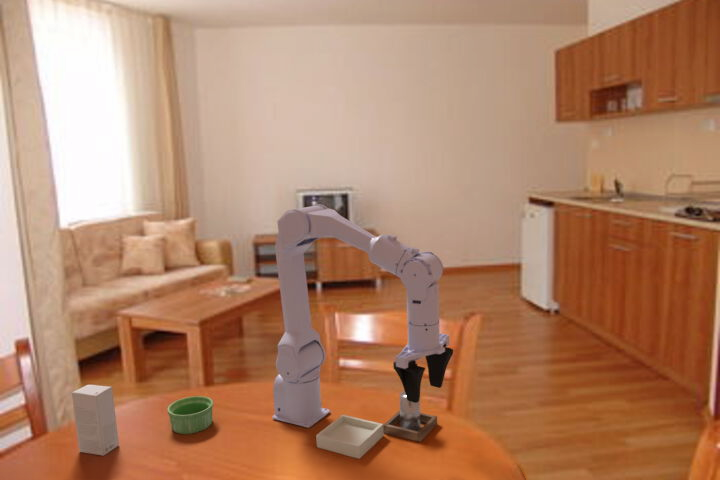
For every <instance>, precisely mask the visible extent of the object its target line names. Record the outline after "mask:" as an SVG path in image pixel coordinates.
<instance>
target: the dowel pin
mask: <svg viewBox="0 0 720 480" xmlns="http://www.w3.org/2000/svg"><path fill="white" fill-rule="evenodd" d="M399 410H400V421H399V423H400V426H399V427H401V428H405V429H410V430H414V431H418V432H419V431H420V430H421V429H422V422H421V413H422V412H421V397H420V398H419V402H417V403H415V402H411V401H408V400H407V397H406V394H405V390H404V391H401V392H400V393H399Z"/></svg>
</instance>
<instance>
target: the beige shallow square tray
mask: <svg viewBox="0 0 720 480" xmlns="http://www.w3.org/2000/svg"><path fill="white" fill-rule="evenodd" d="M383 425H384V423H380V422H376V421H371V420H366V419H363V418H360V417H355V416H351V415H345V414H341V415H340V416H338V418H336V419H335V420H333V421H332V422H331V423H329V425H327V426H326V427H325V428H324V429H322V430H320V432H318V433H317V434H315V437H316V440H315V441H316V448H318V449H322V450H324V451H325V450H326V451H330V452H334V453H336V454H340V455H344V456H348V457H351V458H354V459H358V460H359V459H361V458H362V457H363V456H364V455H365V454H366V453H367V452H368V451H370V449H372V448H373V447H374V446H375V445H376V444H377V443H378V442H379V441H380V440H381V439H382V438H383V437H384V436H385V435H384V434H385V433H384V431H383Z"/></svg>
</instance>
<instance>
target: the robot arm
mask: <svg viewBox="0 0 720 480" xmlns="http://www.w3.org/2000/svg"><path fill="white" fill-rule="evenodd" d="M277 228H278V229H277V230H278V233H277V237H276V241H275V245H274V248H275V250H274V252H275V259H276V266H277V275H278V276H277V277H278V284H279V291H280V292H279V293H280V301H281V310H282V317H283V325H284V326H283V327H284V333H283V335H282V337H281V339H280V341H279V342H278V344H277V357H276V360H275V367H276V371H277V375H276V377H275V379H274V382H273V387H272V394H273V395H272V396H273V407H274V415H272V416H271V417H272V419H273V420H275V421H276V420H277V421H280V422H283V423H287V424H293V425H294V426H295V425H296V426H299V427H304V428H308V429H309V428H311V427H312V426H314V425H315V424H316V423H318V422H319V421H320V420H322V419H323V418H324V417H325V416H327V415H328V414H329V413H331V410H330V409H329V408H324V407H322V396H321V379H320V378H321V376H320V372H321V366H322V365H323V364H324V362H325V360H326V351H325V348H324V346H323V343H322V341H321V336H320V334H319V332H317V330H315V329H314V328H313V325H312V316H311V309H310V300H309V299H310V298H309V291H308V281H307V272H306V264H305V252H306V251H307V249H309V247H310V246H311V245H313V243H314V242H315V241H317V240H319V239H320V238H324V237H325V238H327V237H332V238H334V239H337V240H339V241H341V242H343V243H345V244H348V245H350V246H352V247H354V248H356V249H358V250H360V251H363V252H364V253H367V256H368V259H369V261H370V262H371V263H372V264H374V265H375V266H378V267H380V268H381V269H382V270H385V271H386V272H389V273H391V274H393V275H394V276H396V277H398V278H399V279H400V281H401V283H402V284H403V286H404V287H405V290H406V323H407V325H406V327H407V343H406V345H405V346H404V347H403V349H402V350H401V352H399V354H397V355H395V361H394V362H393V370H395V372H396V373H397V375H398V377H399V379H400V382H401V384H402V387H403V390H404V391H405V394H406V397H407V400H408V401H411V402H415V403H417V402H419V398H420V399H421V386H422V385H421V384H422V379H423V375H424V373H425V371H426V367H424V366H421V365H418V363H417V362H416V361H417V360H420V359H421V358H425V360H426V364H427V372H428V373H427V374H428V380H429V385H430V386H431V387H435V388H437V389H441V388H442V387H443V383H444V378H445V374H446V370H447V367H448V364H449V362H450V360H451V358H452V356H453V355H454V350H453V348H451V347H448V346H449V345H450V335H449V334H445V333H441V332H440V331H441V330H440V293H439V290H440V288H439V287H440V286H439V283H440V282H438V281H439V280H440V279H441V278H442V276H443V275H444V274H443V273H444V265H443V262H442V261H441V260H442V259H440V257H438V256H437V255H436V254H434V252H432V251H423V252H420V249H419V248H418V247H416V246H413V247H411V246H409V245H407V244H406V243H403V242H401V241H400V240H397V238H398V237H397V235H394V234H393V233H391V234H388V235H387V234H381V235H378V236H376V235H374V234H372V232H369V231H367V230H366V229H364V228H362V227H360V226H359V225H357V224H356V223H354V222H352V221H350V220H349V219H347V218H345V217H343V216H342V215H340V214H339V213H338V212H337V211H336V210H335V209H333V208H328V207H327V206H325V205H323V204H321V203H320V204H319V203H318V204H313V205H311V206H306V207H301V208H291V209H288V210H286V211H285V212H284V213H283V214H282V216H281V217H280V218H279V219H278V220H277Z"/></svg>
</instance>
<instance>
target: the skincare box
mask: <svg viewBox="0 0 720 480" xmlns="http://www.w3.org/2000/svg"><path fill="white" fill-rule="evenodd" d="M71 396H72V404H73V411H74V419H75V428H76V434H77V442H78V443H77V444H78V451H79V453H85V454H91V455H97V456H106V455H107V454H108V453H110V452H111V451H113V450H115V448H118V447H119V446H120V441H119V433H118V425H117V417H116V416H117V415H116V410H115V407H116V406H115V400H114V393H113V387H112V386H107V385H106V386H105V385H98V384H87V385H84V386H82V387H81V388H79V389H76V390H75V391H72V392H71Z"/></svg>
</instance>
